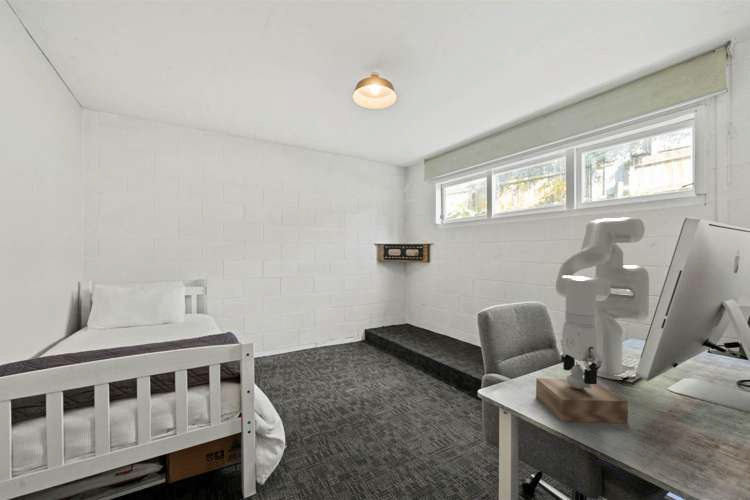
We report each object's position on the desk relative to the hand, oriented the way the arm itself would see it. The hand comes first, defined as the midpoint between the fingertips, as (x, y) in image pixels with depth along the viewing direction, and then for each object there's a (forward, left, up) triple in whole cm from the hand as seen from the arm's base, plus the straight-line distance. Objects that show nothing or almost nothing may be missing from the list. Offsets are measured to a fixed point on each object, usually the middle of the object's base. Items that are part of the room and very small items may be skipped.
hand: (579, 376), depth 92 cm
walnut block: (0, 0, -10) cm, 10 cm away
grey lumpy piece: (0, 0, -4) cm, 4 cm away
